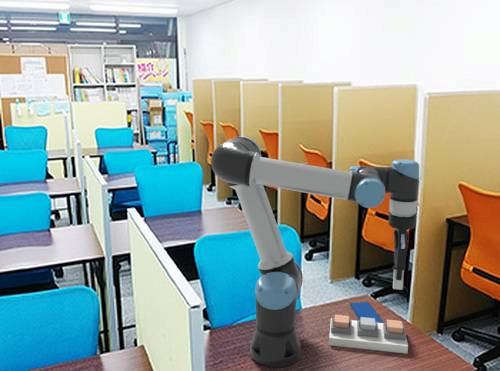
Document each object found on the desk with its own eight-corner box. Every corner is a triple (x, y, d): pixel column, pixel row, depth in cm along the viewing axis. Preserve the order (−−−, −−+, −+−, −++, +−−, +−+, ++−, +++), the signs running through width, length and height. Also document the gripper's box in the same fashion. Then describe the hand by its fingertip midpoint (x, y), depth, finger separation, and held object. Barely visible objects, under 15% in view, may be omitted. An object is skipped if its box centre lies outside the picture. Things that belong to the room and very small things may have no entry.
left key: (334, 327, 145) (334, 321, 145) (334, 320, 149) (334, 314, 149) (348, 328, 144) (348, 322, 144) (348, 321, 148) (348, 315, 148)
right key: (387, 332, 142) (387, 326, 141) (386, 325, 146) (386, 319, 146) (402, 334, 141) (402, 328, 141) (401, 326, 145) (401, 320, 145)
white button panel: (328, 345, 143) (329, 332, 142) (330, 324, 154) (331, 313, 153) (407, 353, 138) (408, 340, 137) (403, 332, 149) (404, 320, 148)
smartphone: (368, 301, 169) (383, 322, 154) (368, 304, 169) (383, 324, 154) (348, 302, 168) (362, 323, 154) (348, 305, 168) (362, 326, 154)
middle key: (360, 330, 144) (360, 324, 143) (360, 322, 148) (360, 317, 147) (375, 331, 143) (375, 325, 142) (374, 324, 147) (374, 318, 146)
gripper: (419, 220, 128) (413, 299, 133) (413, 207, 140) (408, 280, 146) (390, 219, 129) (386, 297, 135) (387, 206, 142) (383, 278, 147)
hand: (397, 288), depth 140 cm, fingers closed
